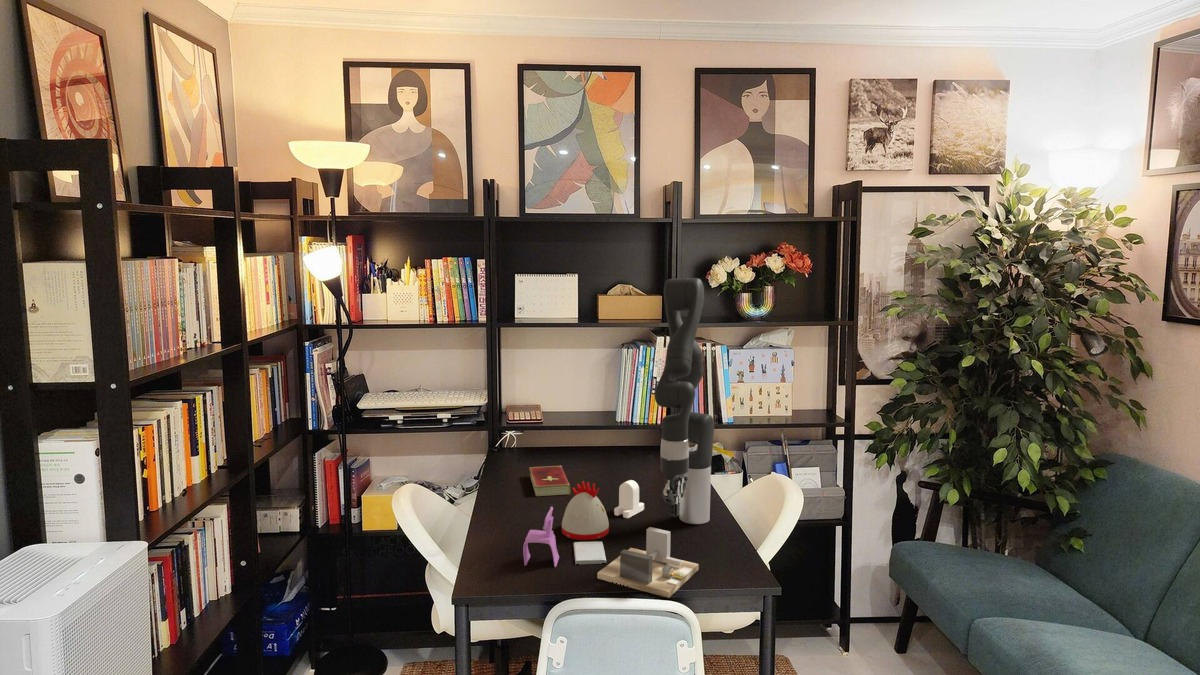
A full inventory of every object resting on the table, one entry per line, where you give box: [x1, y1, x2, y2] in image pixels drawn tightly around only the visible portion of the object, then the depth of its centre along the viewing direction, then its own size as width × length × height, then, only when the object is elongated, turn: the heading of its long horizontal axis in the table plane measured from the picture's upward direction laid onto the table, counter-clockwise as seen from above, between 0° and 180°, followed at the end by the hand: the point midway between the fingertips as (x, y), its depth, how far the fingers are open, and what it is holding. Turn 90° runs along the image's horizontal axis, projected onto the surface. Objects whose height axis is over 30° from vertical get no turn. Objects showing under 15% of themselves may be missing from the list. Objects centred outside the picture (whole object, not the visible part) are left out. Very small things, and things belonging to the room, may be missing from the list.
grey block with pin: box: [662, 566, 683, 578], centre depth 188 cm, size 2×5×2 cm, turn 60°
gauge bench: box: [597, 547, 700, 599], centre depth 194 cm, size 18×20×8 cm
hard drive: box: [573, 541, 607, 565], centre depth 206 cm, size 2×8×12 cm
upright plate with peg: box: [645, 526, 682, 566], centre depth 195 cm, size 7×10×8 cm
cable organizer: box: [613, 479, 645, 519], centre depth 237 cm, size 5×10×10 cm, turn 145°
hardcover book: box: [528, 465, 572, 497], centre depth 262 cm, size 12×21×4 cm, turn 11°
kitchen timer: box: [561, 480, 610, 541], centre depth 221 cm, size 14×14×15 cm
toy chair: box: [522, 506, 560, 568], centre depth 200 cm, size 8×9×15 cm
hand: (674, 515), depth 205 cm, fingers closed
